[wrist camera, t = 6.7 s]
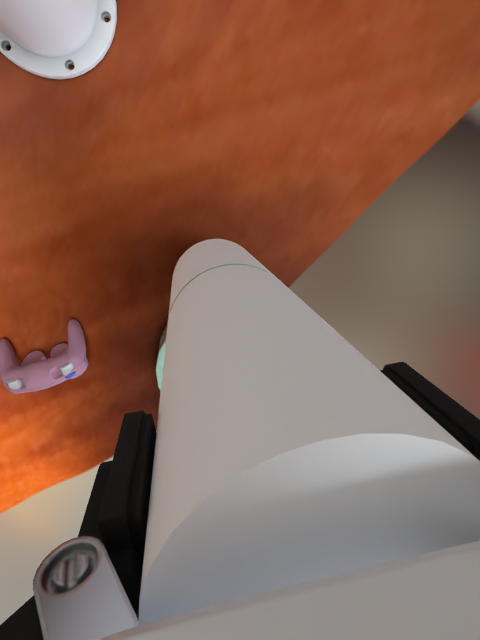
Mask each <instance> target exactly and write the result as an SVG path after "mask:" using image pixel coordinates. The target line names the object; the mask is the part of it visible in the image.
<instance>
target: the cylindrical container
mask: <svg viewBox="0 0 480 640" xmlns="http://www.w3.org/2000/svg"><path fill="white" fill-rule="evenodd" d="M479 540H480V461H479V460H478V459H477V458H476V457H475V456H474V455H472V454H471V453H470V452H469V451H468V450H467V449H466V448H465V447H464V446H462V445H461V444H460V443H459V442H458V441H457V440H456V439H455V438H454V437H453V436H451V435H450V434H449V433H448V432H447V431H446V430H445V429H444V428H443V427H441V426H440V425H439V424H438V423H437V422H436V421H435V420H434V419H433V418H432V417H430V416H429V415H428V414H427V413H426V412H425V411H424V410H423V409H422V408H420V407H419V406H418V405H417V404H416V403H415V402H414V401H413V400H412V399H411V398H409V397H408V396H407V395H406V394H405V393H404V392H403V391H402V390H401V389H399V388H398V387H397V386H396V385H395V384H394V383H393V382H392V381H391V380H389V379H388V378H387V377H386V376H385V375H384V374H383V373H382V372H381V371H380V370H378V369H377V368H376V367H375V366H374V365H373V364H372V363H371V362H369V361H368V360H367V359H366V358H365V357H364V356H363V355H362V354H361V353H360V352H359V351H357V350H356V349H355V348H354V347H353V346H352V345H351V344H350V343H349V342H347V341H346V340H345V339H344V338H343V337H342V336H341V335H340V334H338V333H337V332H336V331H335V330H334V329H333V328H332V327H331V326H330V325H329V324H327V323H326V322H325V321H324V320H323V319H322V318H321V317H320V316H319V315H318V314H316V313H315V312H314V311H313V310H312V309H311V308H310V307H309V306H308V305H307V304H305V303H304V302H303V301H302V300H301V299H300V298H299V297H298V296H297V295H295V294H294V293H293V292H292V291H291V290H290V289H289V288H288V287H287V286H285V285H284V284H283V283H282V282H281V281H280V280H279V279H278V278H277V277H275V276H274V275H273V274H272V273H271V272H270V271H269V270H268V269H266V268H265V267H264V266H263V265H262V264H261V263H260V262H259V261H257V260H256V259H255V258H254V257H253V256H252V255H251V254H250V253H248V252H247V251H246V250H245V249H244V248H243V247H241V246H240V245H238V244H236V243H234V242H231V241H228V240H224V239H209V240H205V241H202V242H199V243H197V244H195V245H193V246H192V247H190V248H189V249H188V250H187V251H185V252H184V254H183V255H182V256H181V257H180V259H179V260H178V262H177V264H176V266H175V269H174V273H173V278H172V287H171V297H170V307H169V316H168V326H167V335H166V345H165V355H164V365H163V374H162V384H161V394H160V404H159V413H158V423H157V433H156V443H155V452H154V462H153V472H152V482H151V491H150V501H149V511H148V521H147V530H146V540H145V550H144V560H143V570H142V579H141V589H140V599H139V623H140V625H142V624H146V623H150V622H153V621H157V620H161V619H165V618H168V617H172V616H176V615H179V614H183V613H187V612H191V611H194V610H198V609H202V608H205V607H209V606H213V605H217V604H221V603H225V602H229V601H233V600H237V599H241V598H245V597H249V596H253V595H257V594H261V593H265V592H269V591H273V590H277V589H281V588H285V587H289V586H293V585H297V584H301V583H305V582H309V581H313V580H317V579H321V578H326V577H330V576H334V575H338V574H342V573H346V572H350V571H354V570H358V569H362V568H366V567H371V566H375V565H379V564H383V563H387V562H391V561H395V560H400V559H404V558H408V557H412V556H416V555H420V554H424V553H428V552H433V551H437V550H441V549H445V548H450V547H454V546H458V545H462V544H467V543H471V542H475V541H479Z"/></svg>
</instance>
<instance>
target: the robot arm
mask: <svg viewBox="0 0 480 640" xmlns="http://www.w3.org/2000/svg"><path fill="white" fill-rule="evenodd" d="M106 18H109V19H110V21H109V22H105V19H106ZM116 22H117V4H116V0H0V52H1V53H2V54H3V55H5V56H6V57H7V58H8V59H9V60H11V61H12V62H13V63H15V64H16V65H18V66H19V67H20V68H22V69H24V70H26V71H28V72H30V73H32V74H35V75H38V76H42V77H45V78H51V79H67V78H74V77H77V76H79V75H82V74H85V73H86V72H88V71H89V70H91V69H92V68H94V67H95V66H96V65H97V64H98V63H99V62H100V61H101V60H102V59H103V58H104V56H105V54H106V53H107V51H108V49H109V48H110V45H111V43H112V40H113V37H114V34H115V28H116ZM8 46H11V50H9V51H8V49H7V48H8ZM70 65H74V69H73V70H70V68H69V67H70ZM381 372H382V373H383V374H384V375H385V376H386V377H387V378H388V379H389V380H391V381H392V382H393V383H394V384H395V385H396V386H397V387H398V388H399V389H401V390H402V391H403V392H404V393H405V394H406V395H407V396H408V397H409V398H411V399H412V400H413V401H414V402H415V403H416V404H417V405H418V406H419V407H420V408H422V409H423V410H424V411H425V412H426V413H427V414H428V415H429V416H430V417H432V418H433V419H434V420H435V421H436V422H437V423H438V424H439V425H440V426H441V427H443V428H444V429H445V430H446V431H447V432H448V433H449V434H450V435H451V436H453V437H454V438H455V439H456V440H457V441H458V442H459V443H460V444H461V445H462V446H464V447H465V448H466V449H467V450H468V451H469V452H470V453H471V454H472V455H474V456H475V457H476V458H477V459H478V460H479V461H480V420H479V419H478V418H477V417H475V416H474V415H473V414H471V413H470V412H469V411H467V410H466V409H464V407H462V406H461V405H460V404H458V403H457V402H456V401H454V400H453V399H452V398H450V397H449V396H448V395H446V394H445V393H444V392H442V391H441V390H440V389H439V388H437V387H436V386H435V385H433V384H432V383H431V382H429V381H428V380H427V379H426V378H424V377H423V376H422V375H420V374H419V373H418V372H416V371H415V370H414V369H412V368H411V367H410V366H409V365H407V364H406V363H404V362H398V363H393V364H389V365H385V366H384V368H383V370H381ZM155 443H156V429H155V425H154V421H153V417H152V414H145V412H144V410H142V411H137V412H131V413H126V414H125V415H124V418H123V422H122V426H121V430H120V434H119V438H118V442H117V446H116V450H115V454H114V457H113V461H108V462H103V463H101V464H100V466H99V469H98V472H97V475H96V479H95V482H94V485H93V489H92V492H91V496H90V499H89V502H88V505H87V508H86V512H85V515H84V519H83V522H82V525H81V529H80V532H79V535H78V537H77V538H73V539H71V540H69V541H67V542H64V543H62V544H61V545H60V546H58V547H57V548H55V549H54V550H53V551H52V552H51V553H50V554H49V555H48V556H47V557H46V558H45V559H44V560H43V561H42V563H41V564H40V566H39V568H38V569H37V571H36V574H35V577H34V579H33V591H34V596H33V597H32V598H30V599H29V600H28V601H27V602H26V603H25V604H24V605H23V606H21V607H20V608H19V609H18V610H17V611H16V612H15V613H14V614H12V615H11V616H10V617H9V618H8V619H7V620H6V621H5V622H4V623H2V624H1V625H0V640H480V540H479V541H475V542H471V543H467V544H462V545H458V546H454V547H450V548H445V549H441V550H437V551H433V552H428V553H424V554H420V555H416V556H412V557H408V558H404V559H400V560H395V561H391V562H387V563H383V564H379V565H375V566H371V567H366V568H362V569H358V570H354V571H350V572H346V573H342V574H338V575H334V576H330V577H326V578H321V579H317V580H313V581H309V582H305V583H301V584H297V585H293V586H289V587H285V588H281V589H277V590H273V591H269V592H265V593H261V594H257V595H253V596H249V597H245V598H241V599H237V600H233V601H229V602H225V603H221V604H217V605H213V606H209V607H205V608H202V609H198V610H194V611H191V612H187V613H183V614H179V615H176V616H172V617H168V618H165V619H161V620H157V621H153V622H150V623H146V624H142V625H140V623H139V599H140V589H141V579H142V570H143V560H144V550H145V540H146V530H147V521H148V511H149V501H150V491H151V482H152V472H153V462H154V452H155Z"/></svg>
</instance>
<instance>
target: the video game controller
mask: <svg viewBox="0 0 480 640" xmlns="http://www.w3.org/2000/svg"><path fill="white" fill-rule="evenodd" d="M67 332H68V345H67V344H65V343H61V344H58V345H56V346H55V347H54V348H53V349H52V350H51V352H50V356H51V358H49V359H46V357H45V356H44V354H43V353H42V352H41V351H33V352H31V353H29V354H28V355H27V356H26V357H25V359H24V360H23V362H22V363H19V362H18V361H17V359H16V356H15V353H14V350H13V348H12V346H11V344H10V342H9V341H8V340H7V339H0V379H1V381H2V383H3V385H4V386H5V387H6V388H7V389H8V390H9V391H10V392H12V393H14V394H19V393H23V392H33V391H38V390H42V389H46V388H49V387H52V386H54V385H57V384H59V383H61V382H63V381H65V380H67V379H73V378H76V377H78V376H80V375H81V374H82V373H83V372H84V371H85V370H86V368H87V366H88V359H87V357H86V345H85V338H84V334H83V330H82V328H81V325H80V323H79V322H78V321H77V320H75V319H71V320H70V321H69V323H68V327H67Z"/></svg>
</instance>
